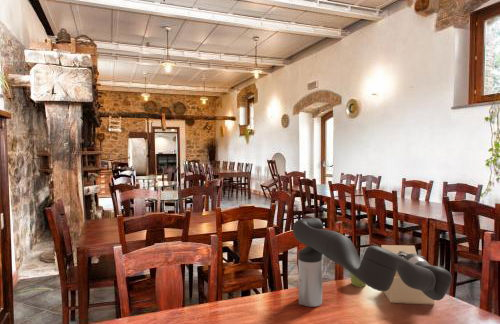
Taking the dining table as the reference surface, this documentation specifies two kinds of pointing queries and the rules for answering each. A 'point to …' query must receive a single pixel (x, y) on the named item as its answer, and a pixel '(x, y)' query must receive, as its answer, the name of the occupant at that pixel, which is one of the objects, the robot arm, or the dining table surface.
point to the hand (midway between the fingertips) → (401, 253)
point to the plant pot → (356, 281)
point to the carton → (406, 293)
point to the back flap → (400, 248)
